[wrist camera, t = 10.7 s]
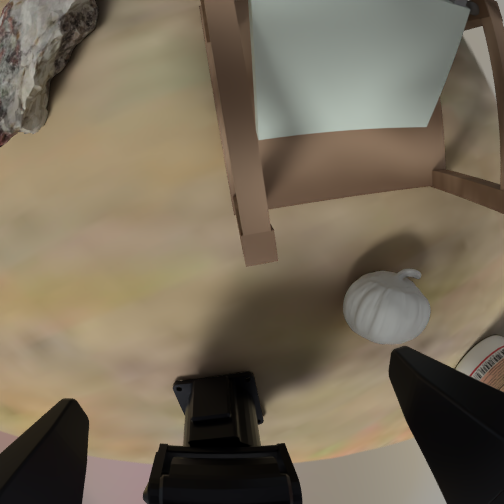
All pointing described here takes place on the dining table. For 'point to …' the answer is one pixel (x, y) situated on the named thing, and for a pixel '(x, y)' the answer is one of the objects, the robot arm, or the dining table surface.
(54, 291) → the dining table surface
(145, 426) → the dining table surface
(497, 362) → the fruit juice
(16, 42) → the mineral rock
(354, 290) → the garlic
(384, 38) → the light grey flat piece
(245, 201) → the stand
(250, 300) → the dining table surface
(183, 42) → the dining table surface
